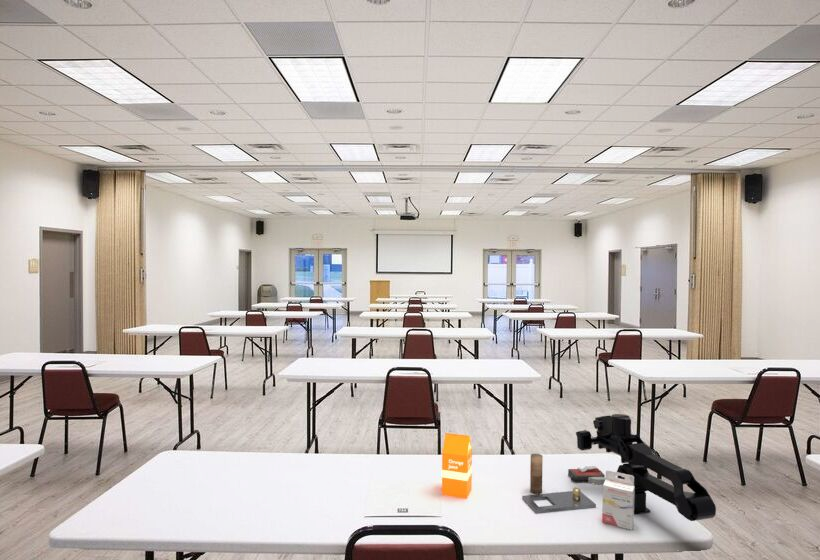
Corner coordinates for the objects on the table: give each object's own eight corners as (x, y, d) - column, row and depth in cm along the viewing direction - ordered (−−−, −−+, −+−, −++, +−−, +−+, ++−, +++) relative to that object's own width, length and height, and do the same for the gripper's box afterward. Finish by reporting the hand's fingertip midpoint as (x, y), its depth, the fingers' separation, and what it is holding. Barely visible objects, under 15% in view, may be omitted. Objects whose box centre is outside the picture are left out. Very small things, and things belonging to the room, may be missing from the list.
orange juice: (467, 498, 162) (467, 439, 161) (441, 494, 164) (442, 436, 164) (471, 488, 169) (472, 432, 169) (447, 485, 172) (447, 429, 171)
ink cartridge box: (601, 522, 147) (602, 474, 146) (604, 515, 151) (604, 469, 151) (632, 530, 142) (633, 481, 142) (634, 523, 147) (635, 475, 146)
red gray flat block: (573, 486, 172) (628, 485, 174) (573, 474, 172) (628, 473, 174) (564, 476, 181) (616, 474, 182) (564, 464, 181) (616, 463, 182)
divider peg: (544, 493, 166) (544, 457, 165) (533, 494, 165) (533, 458, 165) (538, 488, 170) (539, 453, 169) (528, 489, 169) (528, 453, 168)
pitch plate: (596, 507, 156) (596, 495, 156) (535, 513, 152) (535, 500, 152) (579, 493, 166) (579, 481, 166) (522, 498, 162) (522, 486, 162)
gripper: (637, 417, 168) (607, 407, 183) (591, 423, 162) (564, 412, 178) (638, 449, 167) (608, 437, 182) (592, 456, 162) (565, 443, 177)
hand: (587, 431), depth 180 cm, fingers open, 9 cm apart
